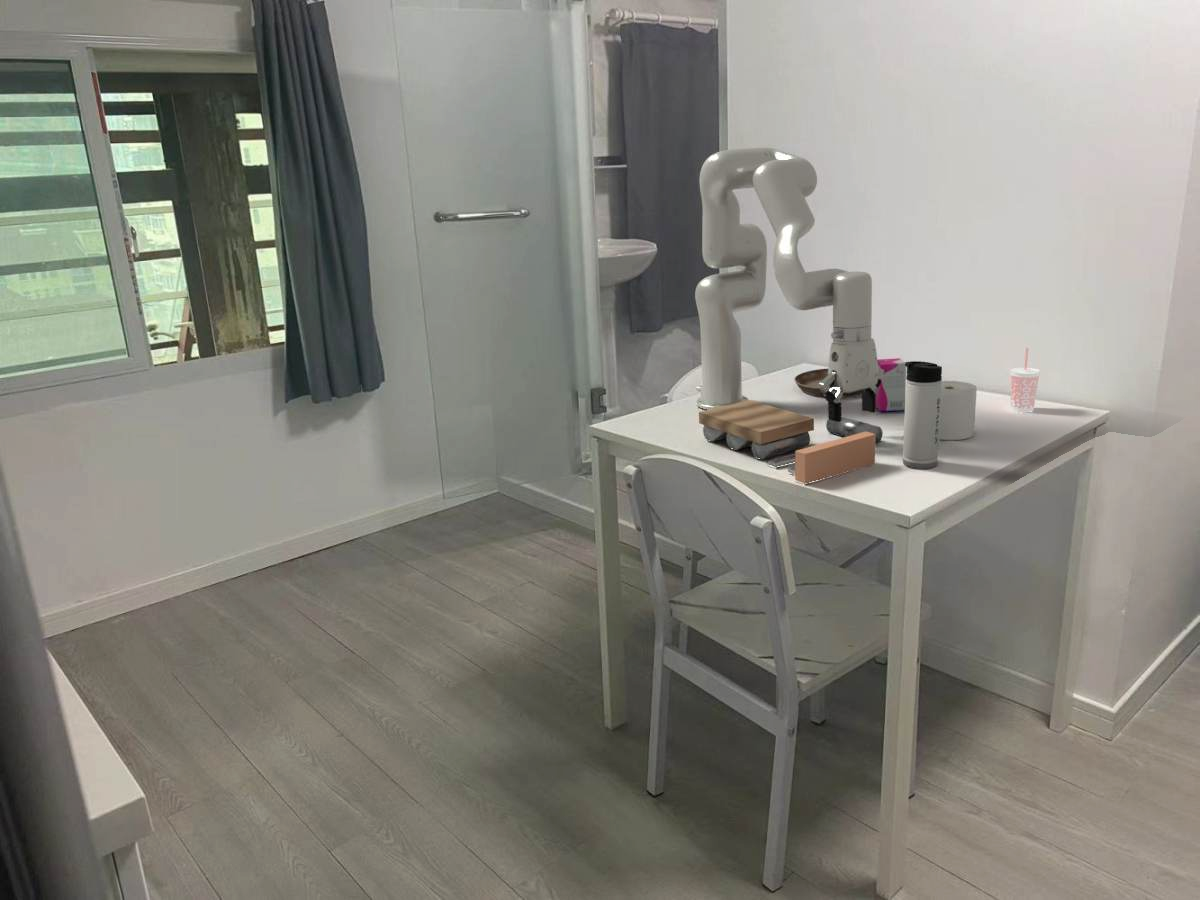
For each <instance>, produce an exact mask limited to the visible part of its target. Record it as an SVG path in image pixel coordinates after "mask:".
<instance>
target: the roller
mask: <svg viewBox="0 0 1200 900" xmlns="http://www.w3.org/2000/svg"><path fill="white" fill-rule="evenodd" d="M825 426H826V430H827V432H828V433H830V434H834V435H836V434H837V435H836V436H840V437H843V436H844V437H847V436H851V435H855V434H858V433H862V432H865V431H866V432H870V433H873V434H876V438H875V445H878V444H879V443H880V442H881V441H882V439H883V434H884V433H883V432H884V431H883V429H882V427H881V426H878V425H875V424H871V423H867V422H863V421H860V420H856V419H853V418H849V417H845V416H842V415H841V421H840V422H836V421H832V420H829V419H828V418H827V421H826V425H825ZM844 437H843V438H844Z"/></svg>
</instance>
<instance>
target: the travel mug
mask: <svg viewBox="0 0 1200 900" xmlns="http://www.w3.org/2000/svg"><path fill="white" fill-rule="evenodd" d="M904 362H905V361H904ZM905 366H906V389H905V412H904V422H903V423H904V424H903V427H904V428H903V443H902V444H903V445H902V446H903V449H902V464H903V466H904V467H905V466H906V467H907V468H910V469H914V468H915V469H916V470H928V469H929V470H931V469H933V468H935V467H936V466H938V463H939V462H938V461H939V459H938V456H939V441H940V439H939V424H940V405H941V386H942V383H941V382H942V381H943V380H942V377H943V376H942V374H943V368H942V365H938V364H937V363H934V362H928V361H915V360H914V361H913V360H912V361H906V362H905Z"/></svg>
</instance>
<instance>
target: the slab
mask: <svg viewBox="0 0 1200 900" xmlns="http://www.w3.org/2000/svg"><path fill="white" fill-rule="evenodd" d="M698 424H701V425H703V426H704V425H706V426H709V427H712V428H714V429H717V430H720V431H723V432H726V433H729V434H732V435H735V436H738V437H741V438H744V439H747V440H750V441H753V442H756V443H759V444H764V443H768V442H771V441H775V440H779V439H783V438H786V437H790V436H794V435H798V434H801V433H805V432H808V433H810V432H811V431H815V418H814V417H811V416H807V415H803V414H800V413H797V412H793V411H790V410H786V409H783V408H779V407H776V406H773V405H769V404H765V403H762V402H758V401H755V400H751V399H748V401H744V402H739V403H735V404H731V405H727V406H722V407H718V408H714V409H710V410H706V409H704V410H702V411H698Z"/></svg>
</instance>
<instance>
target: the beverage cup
mask: <svg viewBox="0 0 1200 900" xmlns="http://www.w3.org/2000/svg"><path fill="white" fill-rule="evenodd" d="M1028 354H1029V348H1028V347H1026V348H1025V355H1024V356H1025V357H1024V366H1023V367H1014V368H1011V369H1010V370H1009V374H1010V410H1011V409H1012V410H1014V411H1018V412H1017V413H1020V412H1029V413H1031V412H1030V411H1033V410H1035V404H1036V403H1035V402H1036V396H1037V389H1038V386H1039V385H1038V383H1039V377H1040V376H1041V372H1042V371H1041V369H1038V368H1032V367H1028V357H1029V355H1028ZM1012 410H1011V411H1012ZM1014 411H1013V412H1014ZM1033 412H1034V411H1033Z"/></svg>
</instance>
